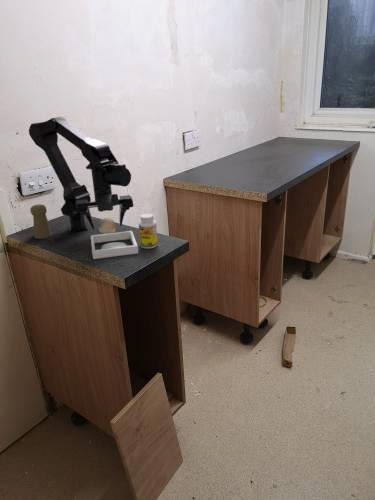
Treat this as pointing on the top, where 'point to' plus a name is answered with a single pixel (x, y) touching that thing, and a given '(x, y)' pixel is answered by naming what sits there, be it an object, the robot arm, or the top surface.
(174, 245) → the top surface
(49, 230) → the cork
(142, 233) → the supplement bottle
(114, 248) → the white square frame
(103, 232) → the wooden ball
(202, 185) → the top surface
